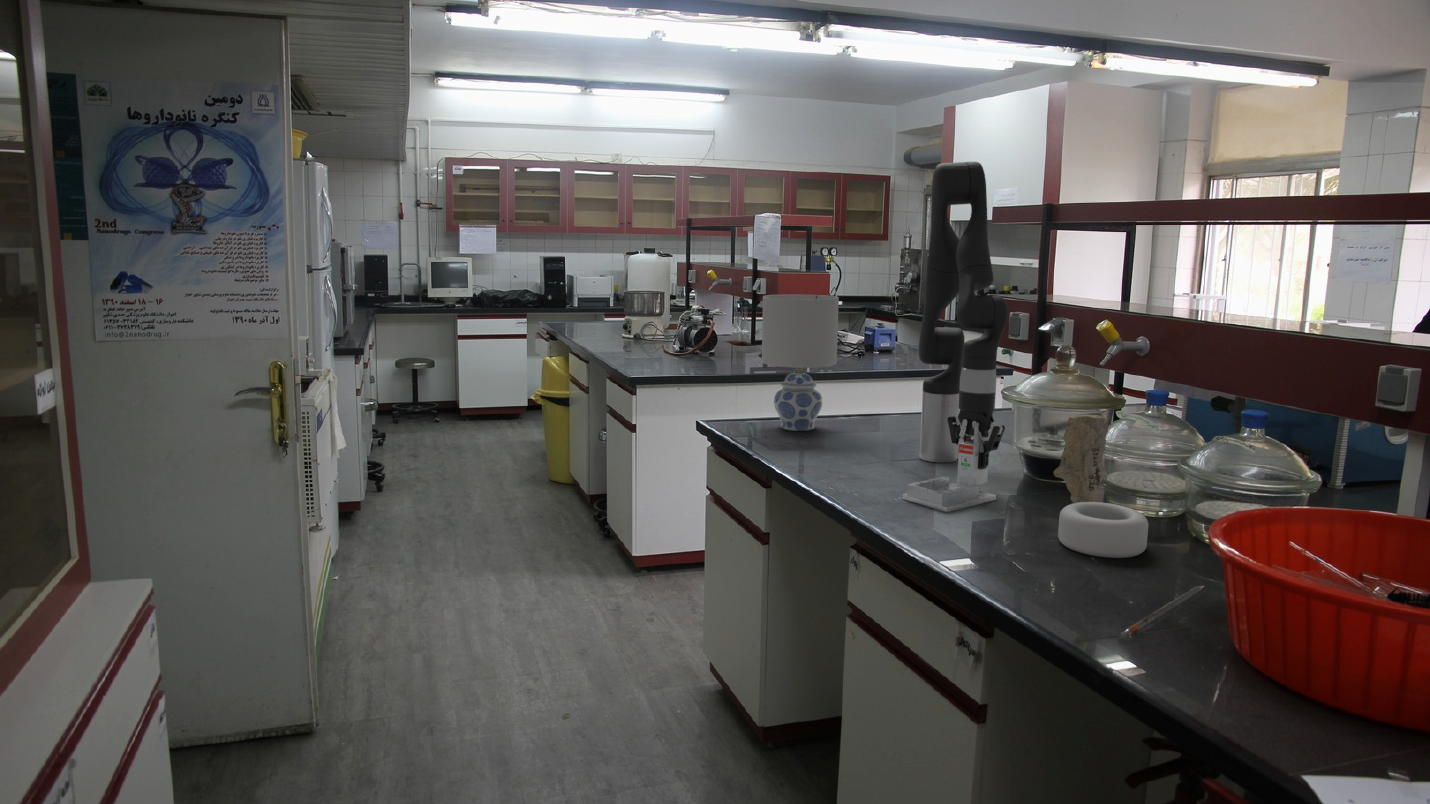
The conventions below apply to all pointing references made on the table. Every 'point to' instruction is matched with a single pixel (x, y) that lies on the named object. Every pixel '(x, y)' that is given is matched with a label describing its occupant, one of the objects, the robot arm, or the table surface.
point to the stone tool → (1083, 456)
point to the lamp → (799, 351)
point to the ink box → (970, 463)
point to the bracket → (945, 494)
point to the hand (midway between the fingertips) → (972, 466)
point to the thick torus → (1103, 529)
